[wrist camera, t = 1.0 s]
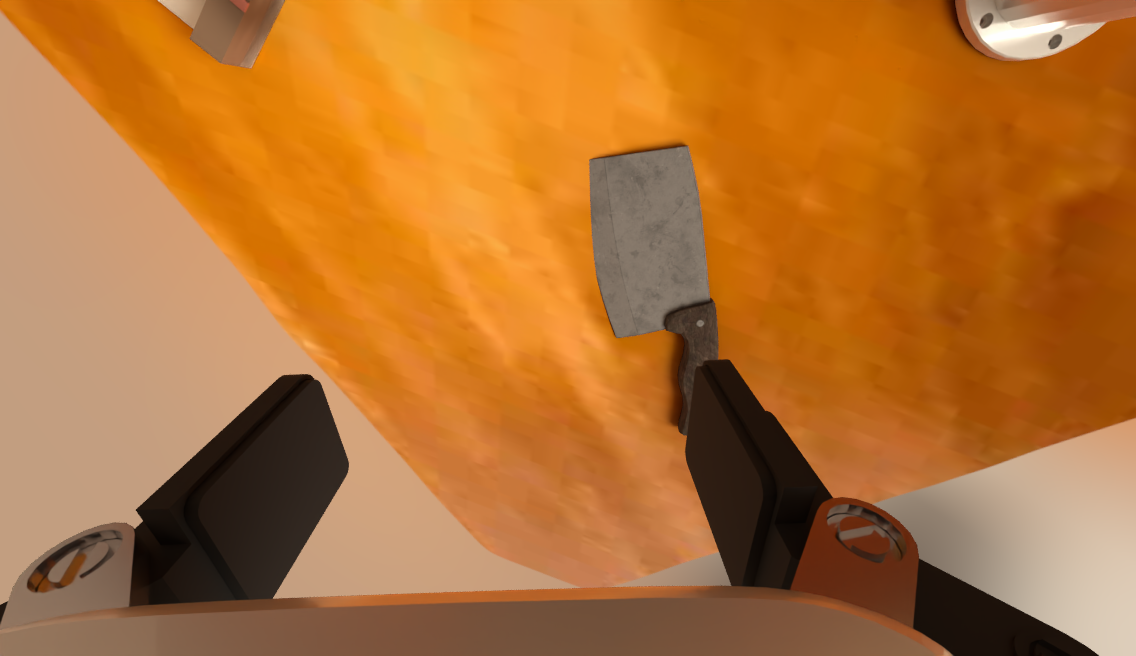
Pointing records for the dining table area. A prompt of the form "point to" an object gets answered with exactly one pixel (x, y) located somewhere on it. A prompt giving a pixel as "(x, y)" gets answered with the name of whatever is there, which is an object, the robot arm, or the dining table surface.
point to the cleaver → (654, 254)
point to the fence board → (228, 26)
